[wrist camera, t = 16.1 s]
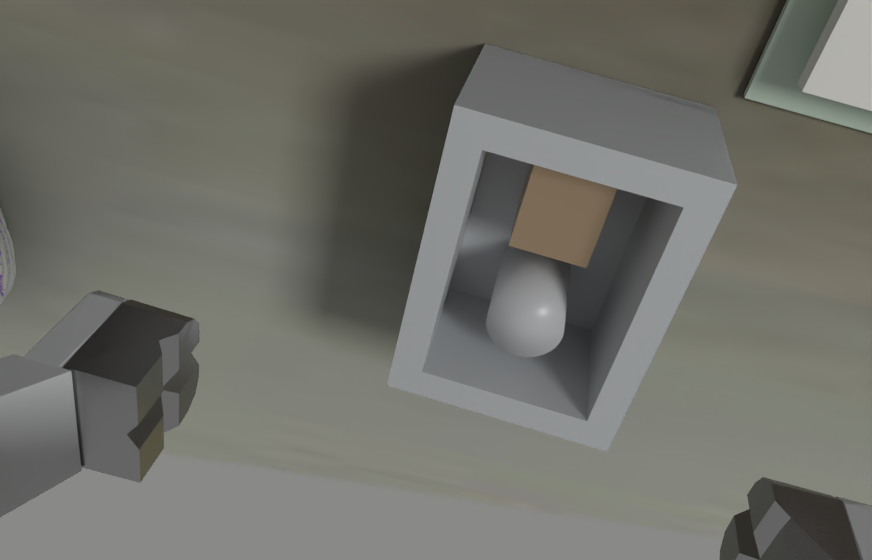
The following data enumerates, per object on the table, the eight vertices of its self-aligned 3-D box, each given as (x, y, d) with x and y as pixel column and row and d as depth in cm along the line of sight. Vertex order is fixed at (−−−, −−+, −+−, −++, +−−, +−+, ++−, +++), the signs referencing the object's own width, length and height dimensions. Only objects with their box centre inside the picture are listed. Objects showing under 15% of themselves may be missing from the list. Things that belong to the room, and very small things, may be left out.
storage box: (485, 43, 40) (454, 104, 33) (715, 107, 39) (737, 184, 32) (422, 292, 49) (386, 385, 42) (609, 347, 48) (606, 451, 41)
